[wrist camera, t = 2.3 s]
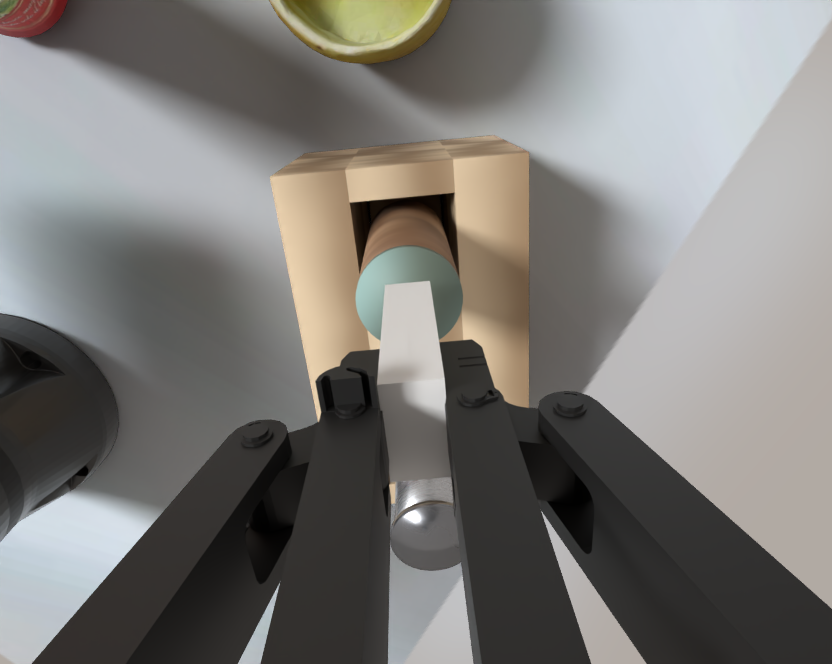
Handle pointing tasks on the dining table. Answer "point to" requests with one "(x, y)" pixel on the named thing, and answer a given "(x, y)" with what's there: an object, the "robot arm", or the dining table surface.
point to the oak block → (465, 231)
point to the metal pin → (425, 524)
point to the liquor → (29, 16)
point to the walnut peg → (408, 264)
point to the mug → (362, 26)
